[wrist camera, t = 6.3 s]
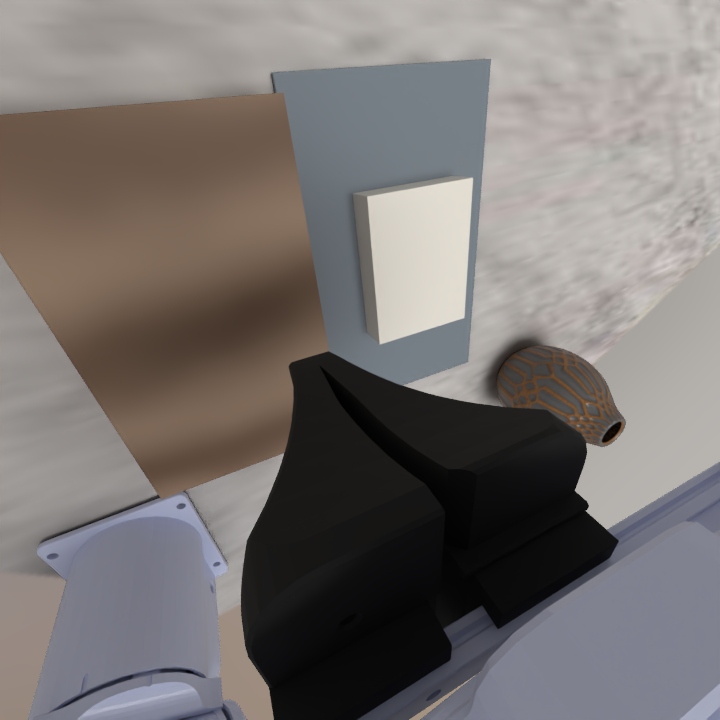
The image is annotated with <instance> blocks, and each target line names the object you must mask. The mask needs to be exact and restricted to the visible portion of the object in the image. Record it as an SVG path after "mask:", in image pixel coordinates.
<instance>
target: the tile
mask: <svg viewBox="0 0 720 720" xmlns="http://www.w3.org/2000/svg"><path fill="white" fill-rule="evenodd" d="M472 188H473V178H472V177H458V176H450V177H444V178H438V179H432V180H427V181H421V182H415V183H409V184H404V185H398V186H392V187H386V188H381V189H375V190H369V191H363V192H358V193H353V202H354V212H355V221H356V231H357V240H358V250H359V259H360V269H361V278H362V288H363V297H364V306H365V316H366V325H367V333H368V334H369V335H370V336H371V337H372V338H374V339H375V340H376V341H377V342H378V343H379V344H383V343H387V342H390V341H393V340H396V339H399V338H402V337H406V336H409V335H412V334H415V333H418V332H422V331H425V330H428V329H431V328H434V327H437V326H441V325H444V324H447V323H450V322H453V321H456V320H460V319H463V318H464V316H465V300H466V284H467V268H468V252H469V236H470V220H471V204H472Z"/></svg>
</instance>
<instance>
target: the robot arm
mask: <svg viewBox="0 0 720 720" xmlns="http://www.w3.org/2000/svg"><path fill="white" fill-rule="evenodd" d="M288 367H289V371H290V375H291V379H292V383H293V397H294V400H293V412H292V421H291V427H290V433H289V437H288V442H287V446H286V449H285V453H284V456H283V460H282V463H281V466H280V469H279V472H278V475H277V477H276V480H275V482H274V485H273V487H272V490H271V492H270V495H269V497H268V500H267V502H266V504H265V506H264V508H263V510H262V512H261V514H260V516H259V518H258V520H257V522H256V524H255V526H254V528H253V530H252V532H251V534H250V536H249V538H248V540H247V545H246V551H245V558H244V565H243V574H242V586H241V616H242V624H243V632H244V639H245V646H246V650H247V653H248V657H249V659H250V660H251V661H252V663H253V664H254V666H255V667H256V669H257V670H258V672H259V673H260V675H261V676H262V677H263V679H264V681H265V682H266V684H267V685H268V687H269V690H270V696H271V703H272V709H273V716H274V720H409V719H410V718H412V717H413V716H415V715H416V714H418V713H419V712H421V711H422V710H424V709H425V708H427V707H428V706H430V705H431V704H433V703H434V702H436V701H437V700H439V699H440V698H442V697H443V696H445V695H446V694H448V693H449V692H451V691H452V690H454V689H455V688H457V687H458V686H460V685H461V684H463V683H464V682H465V681H467V680H469V679H470V678H471V677H473V676H474V675H476V674H477V675H476V676H475V677H473V678H472V679H471V680H470V681H468V682H467V683H466V684H465V685H463V686H462V687H461V688H459V689H458V690H457V691H455V692H454V693H453V694H452V695H450V696H449V697H448V698H447V699H445V700H444V701H443V702H442V703H440V704H439V705H438V706H437V707H436V708H434V709H433V710H432V711H431V712H429V713H428V714H427V715H426V716H424V717H423V718H422V719H421V720H720V462H718V463H717V464H715V465H713V466H712V467H710V468H708V469H707V470H705V471H703V472H702V473H700V474H698V475H697V476H695V477H693V478H692V479H690V480H688V481H687V482H685V483H683V484H682V485H680V486H679V487H677V488H675V489H674V490H672V491H670V492H669V493H667V494H665V495H664V496H662V497H660V498H659V499H657V500H656V501H654V502H652V503H650V504H649V505H647V506H645V507H644V508H642V509H640V510H639V511H637V512H635V513H634V514H632V515H631V516H629V517H627V518H626V519H624V520H622V521H621V522H619V523H617V524H616V525H614V526H612V527H611V528H609V529H607V530H606V529H605V528H604V527H603V526H602V525H601V524H599V523H598V522H597V521H596V520H595V519H594V518H593V517H591V516H590V515H589V514H588V513H587V512H586V510H587V509H588V507H589V505H588V503H587V501H586V500H584V499H583V498H582V497H581V496H580V495H579V494H577V493H576V492H575V488H576V485H577V483H578V480H579V477H580V475H581V472H582V469H583V466H584V463H585V459H586V455H587V448H586V440H585V438H584V437H583V436H582V434H581V433H579V432H578V431H577V430H575V429H574V428H572V427H571V426H569V425H568V424H567V423H565V422H564V421H562V420H561V419H559V418H558V417H556V416H555V415H554V414H552V413H551V412H549V411H548V410H545V409H529V408H513V407H500V406H491V405H484V404H476V403H470V402H464V401H458V400H454V399H449V398H444V397H439V396H435V395H431V394H428V393H424V392H421V391H418V390H414V389H411V388H408V387H405V386H402V385H399V384H397V383H394V382H392V381H389V380H387V379H384V378H382V377H379V376H377V375H375V374H373V373H370V372H368V371H366V370H364V369H362V368H360V367H358V366H356V365H354V364H352V363H350V362H348V361H346V360H345V359H343V358H341V357H339V356H337V355H335V354H333V353H331V352H329V351H328V352H324V353H321V354H317V355H314V356H311V357H307V358H304V359H301V360H297V361H294V362H291V363H290V365H289V366H288ZM181 503H184V504H181ZM180 504H181V505H180ZM36 553H37V555H38V556H39V557H40V558H42V559H43V560H44V561H45V562H46V563H47V564H48V565H49V566H50V567H51V568H53V569H54V570H55V571H56V572H57V573H58V574H59V575H60V576H61V577H63V578H64V579H65V580H66V581H67V582H66V585H65V589H64V592H63V596H62V600H61V603H60V607H59V610H58V614H57V617H56V621H55V625H54V628H53V632H52V635H51V639H50V642H49V646H48V649H47V653H46V656H45V660H44V664H43V667H42V671H41V674H40V678H39V681H38V685H37V689H36V692H35V695H34V699H33V703H32V706H31V710H30V713H29V717H28V720H247V719H246V717H245V716H244V713H243V712H242V710H241V708H240V706H239V705H238V704H237V703H236V702H235V701H233V700H224V701H223V700H222V685H221V678H220V677H218V676H219V671H220V662H221V657H220V642H219V628H218V613H217V598H216V584H215V578H216V577H218V576H220V575H223V574H224V573H226V572H227V570H228V565H227V562H226V561H225V559H224V557H223V556H222V554H221V552H220V550H219V549H218V547H217V545H216V544H215V542H214V540H213V538H212V537H211V535H210V533H209V532H208V530H207V528H206V526H205V525H204V523H203V521H202V520H201V518H200V516H199V514H198V513H197V511H196V509H195V508H194V506H193V504H192V502H191V501H190V499H189V497H188V496H187V494H186V493H185V492H179V493H177V494H174V495H171V496H169V497H166V498H164V499H161V498H158V499H156V500H153V501H150V502H148V503H145V504H142V505H140V506H137V507H134V508H132V509H129V510H126V511H124V512H121V513H119V514H116V515H113V516H111V517H108V518H105V519H103V520H100V521H97V522H95V523H92V524H89V525H87V526H84V527H81V528H79V529H76V530H73V531H71V532H68V533H65V534H63V535H60V536H58V537H55V538H52V539H50V540H47V541H44V542H42V543H41V544H40V545H39V546H38V549H37V552H36ZM479 672H480V673H479ZM478 673H479V674H478Z"/></svg>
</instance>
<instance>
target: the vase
mask: <svg viewBox="0 0 720 720" xmlns="http://www.w3.org/2000/svg"><path fill="white" fill-rule="evenodd" d="M497 392H498V397H499V400H500V402H501V404H502V406H503V407H513V408H529V409H545V410H548V411H549V412H551V413H552V414H554V415H555V416H556V417H558V418H559V419H561V420H562V421H564V422H565V423H567V424H568V425H569V426H571V427H572V428H574V429H575V430H577V431H578V432H579V433H581V434H582V436H583V437H584V438H585V440H586V443H589V444H593V445H597V446H600V447H605V446H608V445H609V444H611V443H612V442H614V441H615V440H616V439H617V438H618V437H619V436H620V434H621V433H622V432H623V430H624V428H625V425H626V421H625V419H624V417H623V416H622V415H621V414H620V412H619V411H618V410H617V408H616V406H615V403H614V401H613V398H612V395H611V393H610V390H609V388H608V385H607V383H606V381H605V380H604V378H603V377H602V375H601V374H600V373H599V372H598V371H597V370H596V369H595V368H594V367H593V366H592V365H591V364H590V363H589V362H587V361H586V360H584V359H583V358H581V357H580V356H578V355H576V354H574V353H572V352H569V351H567V350H564V349H561V348H557V347H552V346H533V347H528V348H525V349H522V350H520V351H518V352H516V353H514V354H513V355H511V356H510V357H509V358H508V359H507V360H506V361H505V362H504V364H503V365H502V367H501V369H500V371H499V373H498V378H497Z"/></svg>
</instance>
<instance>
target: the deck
mask: <svg viewBox="0 0 720 720" xmlns="http://www.w3.org/2000/svg"><path fill="white" fill-rule="evenodd" d="M0 253H1V254H2V256H3V258H4V259H5V261H6V262H7V264H8V265H9V267H10V268H11V270H12V271H13V273H14V274H15V276H16V277H17V279H18V280H19V282H20V284H21V285H22V287H23V288H24V290H25V291H26V293H27V294H28V296H29V297H30V299H31V300H32V302H33V303H34V305H35V307H36V308H37V310H38V311H39V313H40V314H41V316H42V317H43V319H44V320H45V322H46V323H47V325H48V326H49V328H50V330H51V331H52V333H53V334H54V336H55V337H56V339H57V340H58V342H59V343H60V345H61V346H62V348H63V349H64V351H65V352H66V354H67V356H68V357H69V359H70V360H71V362H72V363H73V365H74V366H75V368H76V369H77V371H78V372H79V374H80V375H81V377H82V379H83V380H84V382H85V383H86V385H87V386H88V388H89V389H90V391H91V392H92V394H93V395H94V397H95V398H96V400H97V402H98V403H99V405H100V406H101V408H102V409H103V411H104V412H105V414H106V415H107V417H108V418H109V420H110V421H111V423H112V425H113V426H114V428H115V429H116V431H117V432H118V434H119V435H120V437H121V438H122V440H123V441H124V443H125V444H126V446H127V447H128V449H129V451H130V452H131V454H132V455H133V457H134V458H135V460H136V461H137V463H138V464H139V466H140V467H141V469H142V470H143V472H144V474H145V475H146V477H147V478H148V480H149V481H150V483H151V484H152V486H153V487H154V489H155V490H156V492H157V493H158V495H159V497H160V498H161V499H164V498H166V497H169V496H171V495H174V494H177V493H179V492H182V491H185V490H187V489H190V488H193V487H195V486H198V485H200V484H203V483H206V482H208V481H211V480H214V479H216V478H219V477H222V476H224V475H227V474H230V473H232V472H235V471H237V470H240V469H243V468H245V467H248V466H251V465H253V464H256V463H259V462H261V461H264V460H267V459H269V458H272V457H274V456H277V455H280V454H282V453H285V449H286V446H287V442H288V437H289V433H290V427H291V421H292V412H293V400H294V397H293V383H292V379H291V375H290V371H289V367H288V366H289V365H290V363H291V362H294V361H297V360H301V359H304V358H307V357H311V356H314V355H317V354H321V353H324V352H328V351H329V348H328V342H327V336H326V331H325V325H324V319H323V314H322V308H321V302H320V296H319V291H318V285H317V279H316V274H315V268H314V262H313V257H312V251H311V245H310V240H309V234H308V228H307V223H306V217H305V211H304V206H303V200H302V194H301V189H300V183H299V177H298V172H297V166H296V160H295V155H294V149H293V143H292V138H291V132H290V126H289V121H288V115H287V109H286V104H285V98H284V93H272V94H260V95H247V96H234V97H222V98H209V99H196V100H184V101H171V102H158V103H146V104H133V105H120V106H108V107H95V108H82V109H70V110H57V111H44V112H32V113H19V114H6V115H0Z"/></svg>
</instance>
